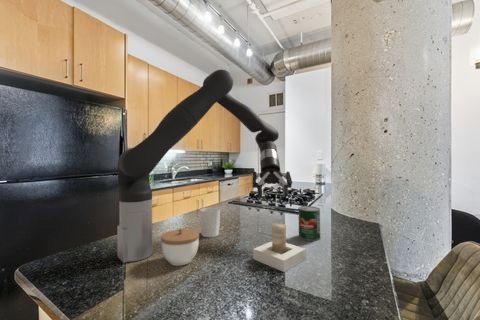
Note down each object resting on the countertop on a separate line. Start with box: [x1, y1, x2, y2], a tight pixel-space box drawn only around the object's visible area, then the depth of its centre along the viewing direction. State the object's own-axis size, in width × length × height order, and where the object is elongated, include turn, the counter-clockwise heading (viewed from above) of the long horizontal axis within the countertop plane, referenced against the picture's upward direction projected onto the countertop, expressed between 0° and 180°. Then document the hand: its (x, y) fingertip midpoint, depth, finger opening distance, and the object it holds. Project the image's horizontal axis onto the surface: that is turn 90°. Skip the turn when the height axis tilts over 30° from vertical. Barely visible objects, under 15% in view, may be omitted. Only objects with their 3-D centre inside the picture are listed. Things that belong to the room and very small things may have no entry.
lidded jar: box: [160, 227, 200, 267], centre depth 65 cm, size 11×11×9 cm
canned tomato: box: [298, 205, 322, 242], centre depth 85 cm, size 8×8×11 cm
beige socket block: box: [252, 241, 307, 273], centre depth 66 cm, size 11×11×3 cm
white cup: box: [199, 206, 221, 238], centre depth 88 cm, size 8×8×10 cm
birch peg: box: [271, 222, 287, 254], centre depth 66 cm, size 4×4×10 cm
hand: (273, 195), depth 78 cm, fingers open, 8 cm apart
